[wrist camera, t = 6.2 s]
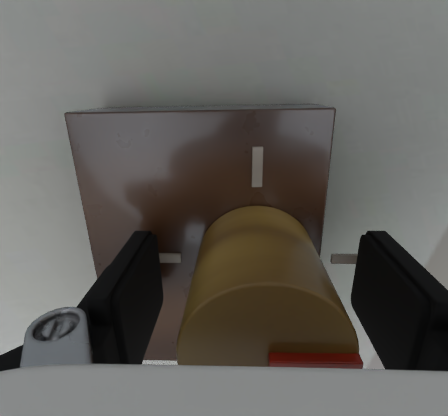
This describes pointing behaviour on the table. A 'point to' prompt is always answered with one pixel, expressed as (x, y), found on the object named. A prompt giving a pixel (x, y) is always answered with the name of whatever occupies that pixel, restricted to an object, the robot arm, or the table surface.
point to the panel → (195, 182)
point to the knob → (263, 298)
